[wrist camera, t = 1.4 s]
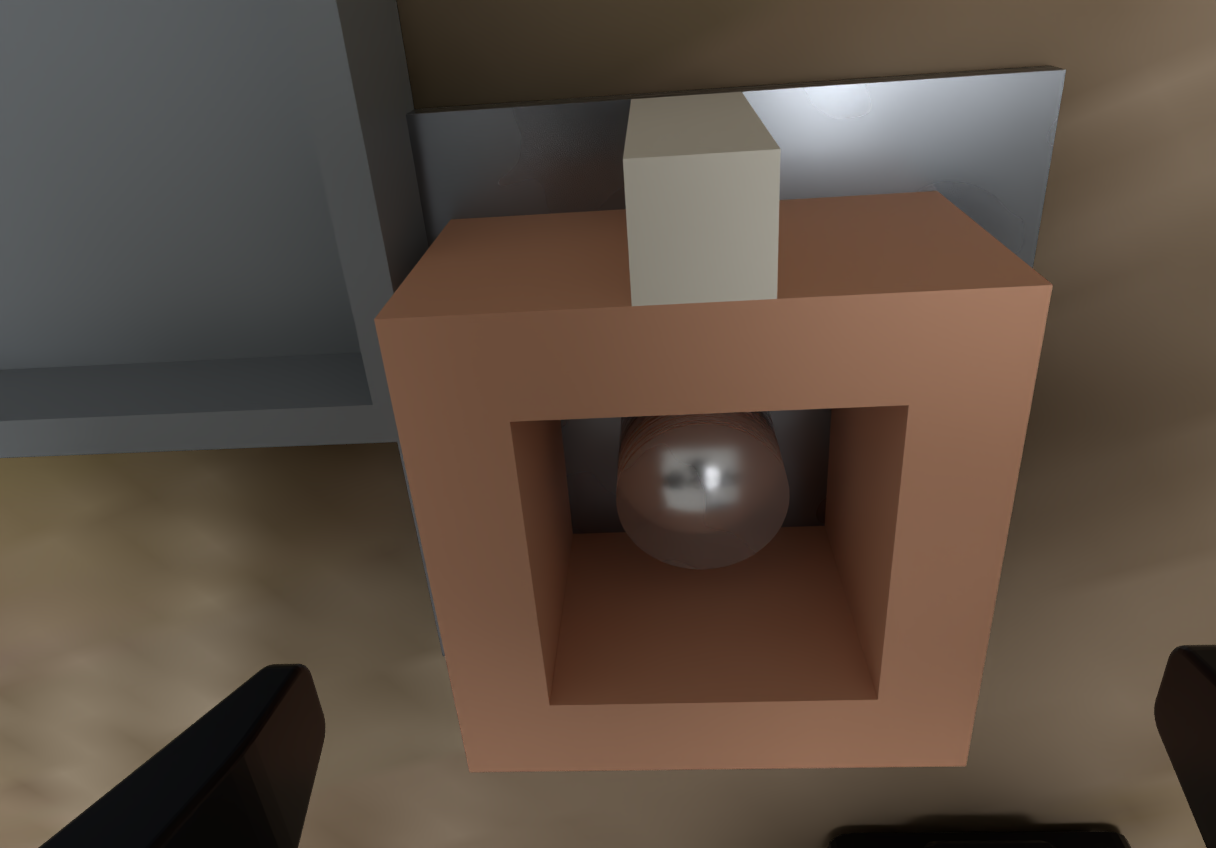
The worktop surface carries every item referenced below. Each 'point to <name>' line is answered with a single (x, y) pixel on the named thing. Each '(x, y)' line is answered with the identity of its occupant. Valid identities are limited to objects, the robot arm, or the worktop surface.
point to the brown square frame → (701, 384)
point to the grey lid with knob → (809, 168)
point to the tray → (200, 222)
